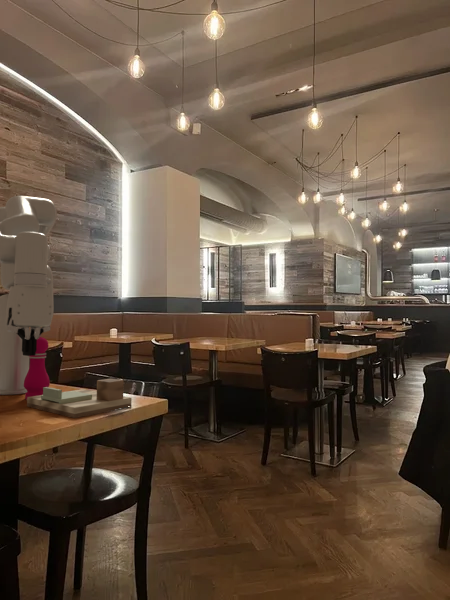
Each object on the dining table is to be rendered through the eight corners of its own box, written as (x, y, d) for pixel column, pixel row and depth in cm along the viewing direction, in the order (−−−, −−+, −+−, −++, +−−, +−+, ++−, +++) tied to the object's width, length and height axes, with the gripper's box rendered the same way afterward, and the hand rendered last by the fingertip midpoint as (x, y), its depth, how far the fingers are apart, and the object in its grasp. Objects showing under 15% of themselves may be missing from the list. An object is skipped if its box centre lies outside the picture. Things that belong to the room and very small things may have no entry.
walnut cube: (96, 399, 123) (96, 380, 123) (111, 396, 127) (111, 378, 127) (108, 401, 120) (108, 382, 120) (123, 398, 124) (123, 380, 124)
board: (26, 406, 124) (27, 397, 125) (83, 397, 139) (83, 389, 139) (74, 418, 111) (74, 407, 111) (131, 406, 125) (131, 397, 125)
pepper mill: (40, 401, 132) (41, 332, 133) (17, 399, 133) (19, 331, 134) (54, 396, 139) (55, 331, 140) (33, 395, 141) (34, 330, 141)
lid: (40, 399, 121) (41, 387, 121) (72, 394, 128) (72, 382, 128) (60, 404, 115) (60, 390, 115) (92, 398, 123) (92, 386, 123)
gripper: (49, 284, 122) (48, 353, 121) (-7, 280, 110) (-9, 356, 109) (65, 283, 118) (64, 354, 117) (9, 278, 106) (7, 358, 105)
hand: (29, 355), depth 113 cm, fingers closed
